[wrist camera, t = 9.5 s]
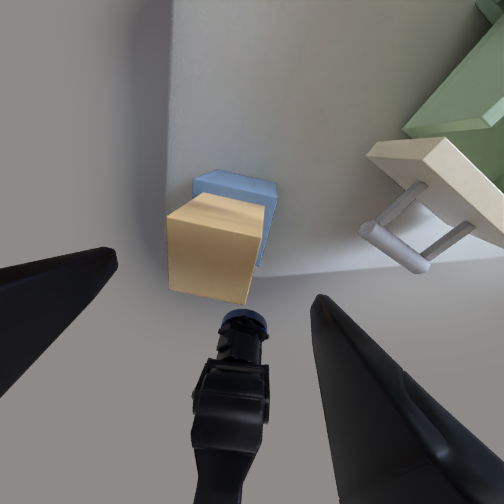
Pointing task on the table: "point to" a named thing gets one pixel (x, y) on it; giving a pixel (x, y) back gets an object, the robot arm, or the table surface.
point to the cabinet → (491, 9)
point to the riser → (241, 194)
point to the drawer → (450, 158)
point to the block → (214, 247)
